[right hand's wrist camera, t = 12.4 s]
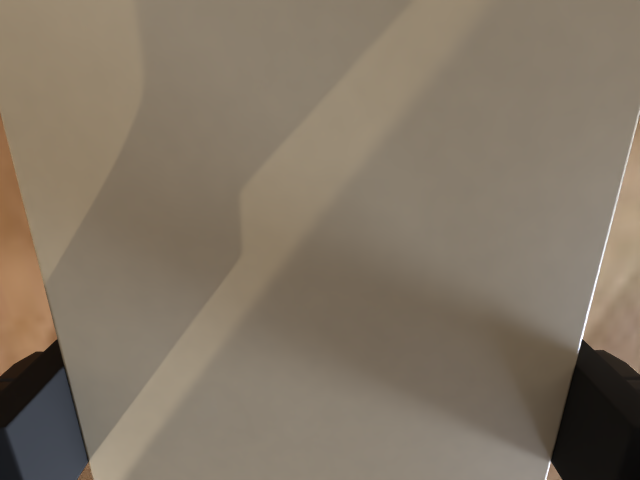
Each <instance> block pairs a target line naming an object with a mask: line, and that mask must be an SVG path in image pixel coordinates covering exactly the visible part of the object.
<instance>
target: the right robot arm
mask: <svg viewBox="0 0 640 480" xmlns="http://www.w3.org/2000/svg"><path fill="white" fill-rule="evenodd" d="M551 462H552V464H553V465H554V467H555V469H556V470H557V472H558V473H559V475H560V477H561V478H562V480H640V375H639V374H638V373H637V372H636V371H635V370H634V369H632V368H631V367H630V366H629V365H628V364H627V363H625V362H624V361H622V360H620V359H618V358H617V357H615V356H613V355H611V354H609V353H608V352H606V351H604V350H593V349H592V348H591V347H590V346H589V345H588V344H587V343H586V342H585V341H584V340H583V339H582V341H581V345H580V349H579V353H578V357H577V361H576V365H575V369H574V373H573V376H572V380H571V384H570V388H569V392H568V396H567V400H566V404H565V408H564V412H563V416H562V419H561V423H560V427H559V431H558V435H557V439H556V443H555V447H554V451H553V455H552V458H551ZM87 463H88V457H87V453H86V449H85V445H84V441H83V437H82V433H81V429H80V425H79V421H78V417H77V413H76V409H75V405H74V402H73V398H72V394H71V390H70V386H69V382H68V378H67V374H66V370H65V366H64V362H63V358H62V354H61V350H60V346H59V342H58V339H57V340H56V341H55V342H54V343H53V344H51V345H50V346H49V347H48V348H47V349H46V350H45V351H44V352H35V353H33V354H31V355H29V356H28V357H26V358H24V359H22V360H21V361H19V362H17V363H15V364H14V365H13V366H11V367H10V368H9V369H8V370H7V371H6V372H5V373H4V374H2V375H1V376H0V480H77V479H78V477H79V476H80V474H81V473H82V471H83V469H84V468H85V466H86V465H87Z"/></svg>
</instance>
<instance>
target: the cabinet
mask: <svg viewBox="0 0 640 480" xmlns="http://www.w3.org/2000/svg"><path fill="white" fill-rule="evenodd" d="M0 113H1V117H2V121H3V125H4V129H5V133H6V137H7V141H8V145H9V149H10V153H11V157H12V161H13V165H14V169H15V172H16V176H17V180H18V184H19V188H20V192H21V196H22V200H23V204H24V208H25V212H26V216H27V220H28V224H29V228H30V232H31V236H32V240H33V244H34V248H35V251H36V255H37V259H38V263H39V267H40V271H41V275H42V279H43V283H44V287H45V291H46V295H47V299H48V303H49V307H50V311H51V315H52V319H53V323H54V326H55V330H56V334H57V338H58V342H59V346H60V350H61V354H62V358H63V362H64V366H65V370H66V374H67V378H68V382H69V386H70V390H71V394H72V398H73V402H74V405H75V409H76V413H77V417H78V421H79V425H80V429H81V433H82V437H83V441H84V445H85V449H86V453H87V457H88V461H89V465H90V469H91V473H92V477H93V480H546V478H547V474H548V470H549V466H550V462H551V458H552V455H553V451H554V447H555V443H556V439H557V435H558V431H559V427H560V423H561V419H562V416H563V412H564V408H565V404H566V400H567V396H568V392H569V388H570V384H571V380H572V376H573V373H574V369H575V365H576V361H577V357H578V353H579V349H580V345H581V341H582V337H583V334H584V330H585V326H586V322H587V318H588V314H589V310H590V306H591V302H592V298H593V295H594V291H595V287H596V283H597V279H598V275H599V271H600V267H601V263H602V259H603V255H604V252H605V248H606V244H607V240H608V236H609V232H610V228H611V224H612V220H613V216H614V213H615V209H616V205H617V201H618V197H619V193H620V189H621V185H622V181H623V177H624V173H625V170H626V166H627V162H628V158H629V154H630V150H631V146H632V142H633V138H634V134H635V131H636V127H637V123H638V119H639V115H640V0H0Z"/></svg>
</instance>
